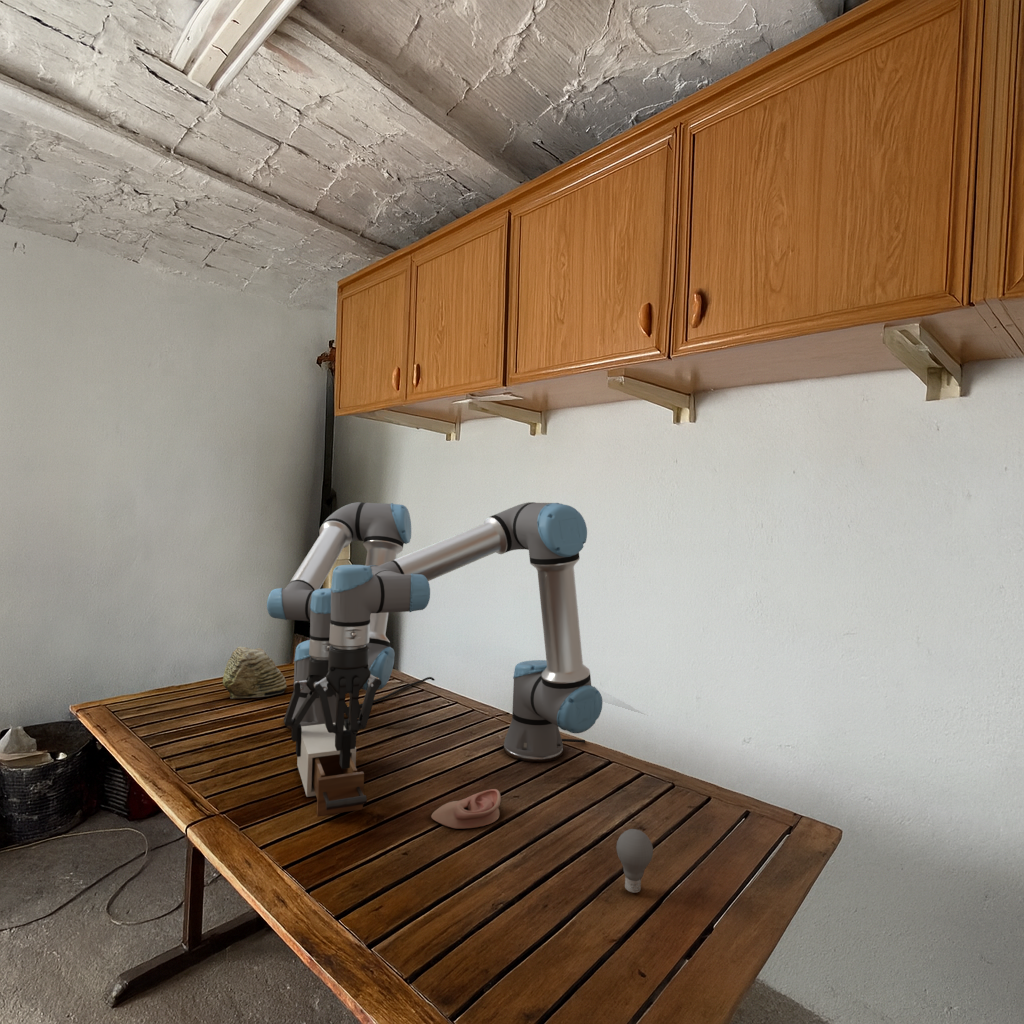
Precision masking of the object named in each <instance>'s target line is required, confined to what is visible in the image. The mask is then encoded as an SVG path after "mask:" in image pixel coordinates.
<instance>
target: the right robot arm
mask: <svg viewBox="0 0 1024 1024" xmlns="http://www.w3.org/2000/svg"><path fill="white" fill-rule="evenodd" d="M587 538H588V528H587V523H586V521H585V518H584V516H583V515H582V514H581V513H580V511H578V510H577V509H576V508H575V507H573V506H571V505H568V504H563V503H559V502H534V501H533V502H530V501H528V502H523V503H520V504H517V505H515V506H512V507H510V508H507V509H505V510H502V511H501V512H498V513H495V514H493V515H491V516H488V517H486V518H485V519H484V521H483V523H482V524H479V525H477V526H474V527H471V528H469V529H467V530H464V531H462V532H460V533H457V534H455V535H451V536H450V537H447V538H444V539H442V540H440V541H437V542H435V543H433V544H430V545H427V546H424V547H423V548H420V549H417V550H414V551H412V552H410V553H407V554H404V555H402V556H400V557H396V559H395V560H392V561H390V562H387V563H384V564H382V565H379V566H377V565H372V566H366V565H365V564H341V565H337V566H335V568H333V571H332V576H331V587H330V588H331V621H330V638H329V643H330V644H331V645H332V646H330V648H329V664H328V670H327V672H326V674H325V678H323V679H322V680H320V681H319V682H318V681H316V682H314V684H313V686H314V688H315V690H316V691H317V693H318V694H319V698H320V703H321V707H322V712H323V716H324V721H325V726H326V728H327V730H328V732H329V733H335V748H336V750H337V751H340V766H341V768H342V769H346V768H350V750H351V749H355V747H356V748H357V735H358V732H359V731H361V730H365V729H366V728H367V726H368V722H369V719H370V714H371V711H372V707H373V704H374V703H373V701H374V700H375V697H376V693H377V691H378V690H377V689H378V688H379V686H380V685H381V680H380V679H379V678H378V677H374V676H373V675H371V673H370V670H369V668H368V660H369V647H368V646H367V645H366V644H368V643H369V630H370V615H371V613H387V612H389V613H406V612H409V613H412V612H416V611H423V610H425V609H426V608H427V606H428V605H429V602H430V599H431V586H430V583H429V582H430V581H432V580H435V579H437V578H439V577H442V576H444V575H446V574H449V573H451V572H453V571H456V570H458V569H460V568H462V567H465V566H467V565H470V564H472V563H475V562H477V561H479V560H482V559H483V558H486V557H489V556H491V555H493V554H498V555H504V554H506V553H508V552H512V551H517V550H527V551H528V555H529V564H530V565H531V566H532V567H534V568H535V569H536V571H537V579H538V590H539V599H540V600H539V601H540V611H541V620H542V631H543V640H544V642H543V643H544V650H545V652H544V653H545V659H534V660H533V659H532V660H525V661H520V662H518V663H516V664H515V667H514V670H513V677H512V679H513V689H512V690H513V691H512V713H511V721H510V724H509V727H508V730H507V732H506V735H505V738H504V742H503V751H504V753H505V754H506V755H507V756H509V757H511V758H512V759H514V760H515V759H516V760H518V761H524V762H528V763H547V762H551V761H554V760H555V761H556V760H558V759H559V758H561V756H562V755H563V753H564V745H563V743H564V742H565V743H581V744H582V743H583V744H584V743H586V739H579V738H578V739H577V738H562V735H561V732H560V730H562V731H566V732H569V733H572V734H581V733H585V732H587V731H589V730H590V729H591V728H592V727H593V726H594V725H595V724H596V722H597V720H598V719H599V718H600V716H601V713H602V709H603V696H602V694H601V692H600V691H599V690H598V689H597V687H595V686H593V685H592V679H591V677H592V676H591V670H590V668H589V667H588V666H587V665H585V664H584V661H583V650H582V641H581V640H582V639H581V638H582V637H581V629H580V620H579V608H578V607H579V606H578V596H577V586H576V575H575V565H576V564H577V563H578V562H579V561H580V552H581V551H582V550H583V548H584V546H585V545H584V544H586V542H587V540H588V539H587ZM367 680H368V682H367V685H368V687H367V690H365V694H364V698H363V702H362V704H363V705H362V707H361V712H360V716H359V718H358V701H359V698H360V691H361V690H362V689H361V688H362V687H363V686H364V684H365V683H366V681H367ZM328 683H329V684H330V685H331V687H332V688H333V689H334V691H335V692H336V716H335V724H333V722H332V717H331V712H330V708H329V703H328V698H327V695H326V693H325V691H326V690H327V684H328ZM347 694H349V700H348V701H349V703H348V707H349V726H348V727H349V730H344V719H345V712H344V708H345V703H346V695H347Z"/></svg>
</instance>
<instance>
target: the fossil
mask: <svg viewBox="0 0 1024 1024" xmlns="http://www.w3.org/2000/svg"><path fill="white" fill-rule="evenodd" d="M222 676H223V677H222V685H223V687H224V688H225V690H226V691H228V693H229V698H230V699H250V698H264V697H271V696H275V695H281V694H284V693H285V691H286V689H287V687H288V686H287V680H286V678H285V676H284V674H283V673H282V672H281V669H279V668H278V667H277V665H276V663H275V662H274V660H273V659H272V658H271V657H270V656H269V655H268V654H267V653H266V652H265V650H264V649H263V648H260V647H258V648H251V647H247V646H246V647H245V646H238V647H237V648H236V649H235V650H233V651H232V653H231V656H230V657H229V659H228V660H227V663H226V666H225V668H224V671H223V675H222Z"/></svg>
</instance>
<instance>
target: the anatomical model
mask: <svg viewBox="0 0 1024 1024" xmlns="http://www.w3.org/2000/svg"><path fill="white" fill-rule="evenodd" d="M501 802H502V796H501V792H500V791H499V790H498V789H496V788H491V789H486V790H483V791H480V792H477V793H474V794H472V795H469V796H468V797H465V798H463V799H460V800H452V801H449V802H447V803H445V804H443V805H441V806H439V807H438V808H437V809H435V810H434V811H433V812H432V814H431V815H430V817H431V819H432V820H433V821H435V822H436V823H439V824H440V825H442V826H445V827H448V828H450V829H458V830H459V829H464V830H465V829H474V828H479V827H480V828H481V827H484V826H488V825H491V824H492V823H495V822H496V821H497V820H498V819H499V818H500V814H501V813H500V809H499V807H500V805H501Z"/></svg>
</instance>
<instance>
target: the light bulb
mask: <svg viewBox="0 0 1024 1024" xmlns="http://www.w3.org/2000/svg"><path fill="white" fill-rule="evenodd" d="M615 849H616V854H617V857H618V859H619V861H620V863H621V865H622V867H623V873H624V874H623V875H624V876H625V878H624V888H625V890H627V891H628V892H630V893H634V894H635V893H639V892H640V891H641V889H642V887H641V886H642V879H643V877H644V875H645V871H646V868H647V867H648V866H649V864H650V863H651V861H652V859H653V855H654V847H653V843H652V841H651V838H649V836H648V835H647V834H646V833H645V832H643V831H642V830H641V829H636V828H629V829H627V830H625V831H623V832H622V833H621V834H620V835H619V837H618V839H617V841H616V847H615Z"/></svg>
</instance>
